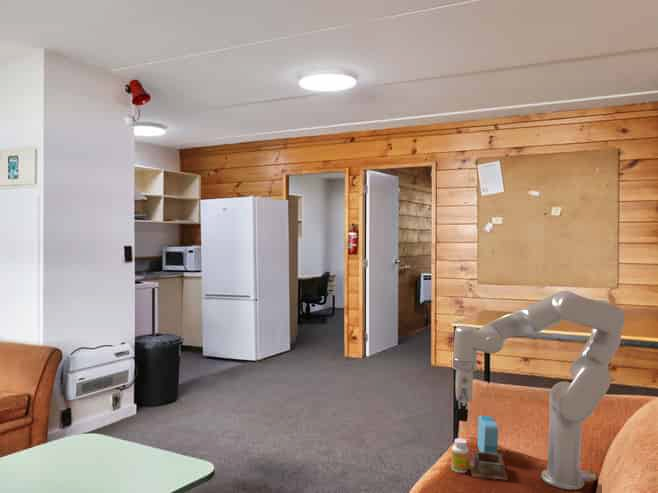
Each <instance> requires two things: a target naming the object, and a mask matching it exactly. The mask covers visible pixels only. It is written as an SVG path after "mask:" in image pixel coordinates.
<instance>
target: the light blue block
mask: <svg viewBox="0 0 658 493" xmlns="http://www.w3.org/2000/svg"><path fill="white" fill-rule="evenodd" d="M498 440H499V427H498V424H497V422H496V420H494V417H493V416H492V415H490V416H489V415H478V428H477V448H478V450H479V451H478V452H488V453H497V454H498V446H499V444H498V442H499V441H498Z"/></svg>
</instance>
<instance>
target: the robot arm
mask: <svg viewBox="0 0 658 493" xmlns="http://www.w3.org/2000/svg"><path fill="white" fill-rule="evenodd" d="M564 321H567V322H569V323H572V324H576V325H579V326H583V327H586V328H591V333H590V336H589V338H588V340H587V341H586V343H585V344H584V346H583V348H582V349H581V351H580V352H579V354H578V355H577V356H576V358H575V359H574V360H573V362H572V363H571V365H570V368H569V370H570V375H571V377H572V378H573V380H572V381H571V382H569V381H559V382H557V383H555V384H554V385H553V386H552V387H551V389H550V392H549V398H548V401H549V403H548V405H549V424H548V425H549V428H548V442H547V443H548V444H547V463H546V464H547V465H546V469H544V470H543V471H542V472H541V479H542V480H543V481H544V482H545V483H547V484H548V485H551V486H553V487H555V488H557V489H558V488H559V489H564V490H571V491H572V490H574V491H575V490H580V489H583V487H584V486H585V481H586V480H590V481H596V479H597V476H596V473H590V471H589V470H583V469H581V468H580V467H581V451H582V450H581V449H582V436H583V435H582V434H583V433H582V432H583V422H584V421H585V420H587V419H588V418H589V417H590V416H591V415H592V413H593V412H594V410H595V409H596V408H597V406H598V405H599V403H600V402H601V401H602V399H603V398H604V396H605V395H606V393H607V392H608V390H609V388H610V386H611V382H612V376H611V375H612V374H611V372H610V370H609V369H608V366H609V364H611V361H612V360H613V358H614V356H615V355H616V353H617V352H618V350H619V348H620V344H621V341H622V330H621V329H623V328H624V326H625V324H626V321H627V317H626V313H625V312H624V311H623V309H622V308H621V307H620V306H618V305H616V304H614V303H612V302H609V301H607V300H603V299H597V300H595V299H592V298H587V297H585V296H582V295H578V294H577V293H574V292H573V291H569V290H563V291H558V292H556V293H554V294H551V295H550V296H548V297H546V298H544V299H542V300H540V301H537V302H535V303H534V304H531V305H529V306H527V307H525V308H522V309H519V310H516V311H514V312H512V313H508V314H506V315H504V316H501V317H498V318H497V319H495V320H492V321H491V322H488V323H486V324H484V325H483V326H481V327H480V328H479V330H478V329H477V328H476V327H472V326H466V325H460V326H457V327H456V328H455V330H454V337H453V340H454V342H453V354H452V355H453V356H452V357H453V358H452V369H453V370H455V398H456V402H455V410H456V413H457V414H456V418H457V419H456V420H457V421H459V422H465V423H466V422H468V419H469V418H468V417H469V415H468V414H469V407H468V405H469V404H468V402H469V403H471V402H472V401H473V387H474V372H476V371H477V361H478V360H477V359H478V358H477V357H478V352H482V353H486V354H496V353H500V351H501V350H502V349H503V347H504V341H505V340H508V339H510V338H513V337H516V336H519V335H528V334H529V335H531V334H536V333H537V334H538V333H540V332H541V331H544V330H546V329H548V328H550V327H553V326H555V325H557V324H559V323H561V322H564Z"/></svg>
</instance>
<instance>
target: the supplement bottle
mask: <svg viewBox="0 0 658 493" xmlns="http://www.w3.org/2000/svg"><path fill="white" fill-rule="evenodd" d="M467 446H468V441H467V440H466V439H464V438H460V437H459V438H454V445H453V446H452V448H451V463H450V464H451V465H450V466H451V467H450V468H451V470H452V471H454V472H455V473H461V474H463V473H464V474H465V473H467V472H468V470H469V456H470V455H469V454H470V452H469V450H470V449H469V448H468V447H467Z"/></svg>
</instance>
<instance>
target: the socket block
mask: <svg viewBox="0 0 658 493" xmlns="http://www.w3.org/2000/svg"><path fill="white" fill-rule="evenodd" d="M472 456H473V457H472V459H469V467H470V473H471V477H472V478H480V479H487V478H494V479H493V480H496V479H506V480H508V479H509V478H508V474H507V471H506V467H505V462H504V459H503V456H502V453H498V452H497V453H488V452H480V451H477V450H474V451H473V454H472Z"/></svg>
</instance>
